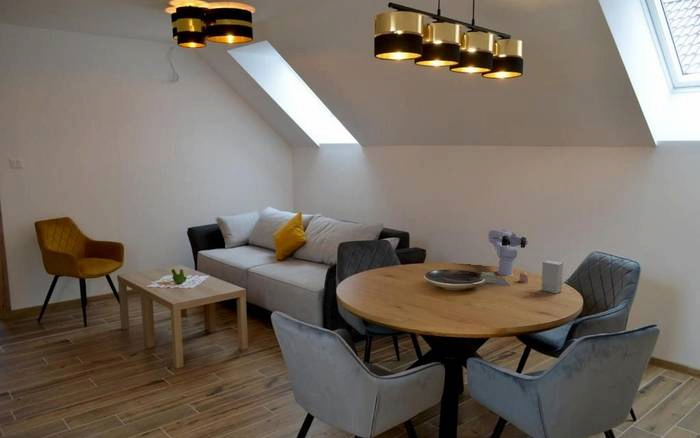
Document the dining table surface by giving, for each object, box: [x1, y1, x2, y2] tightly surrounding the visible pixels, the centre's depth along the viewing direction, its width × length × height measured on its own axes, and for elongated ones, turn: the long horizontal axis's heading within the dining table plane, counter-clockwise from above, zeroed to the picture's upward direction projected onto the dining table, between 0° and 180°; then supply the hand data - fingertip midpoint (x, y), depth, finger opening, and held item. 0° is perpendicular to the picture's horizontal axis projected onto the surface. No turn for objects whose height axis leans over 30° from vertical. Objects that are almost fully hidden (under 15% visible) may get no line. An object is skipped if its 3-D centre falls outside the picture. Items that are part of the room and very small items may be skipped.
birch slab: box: [479, 274, 497, 283], centre depth 278 cm, size 7×7×2 cm
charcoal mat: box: [480, 277, 511, 287], centre depth 278 cm, size 16×20×1 cm
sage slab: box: [480, 271, 496, 279], centre depth 277 cm, size 6×6×2 cm
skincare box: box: [541, 260, 564, 294], centre depth 264 cm, size 8×6×15 cm
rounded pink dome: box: [518, 271, 529, 284], centre depth 279 cm, size 4×4×5 cm
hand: (517, 243), depth 273 cm, fingers open, 7 cm apart
